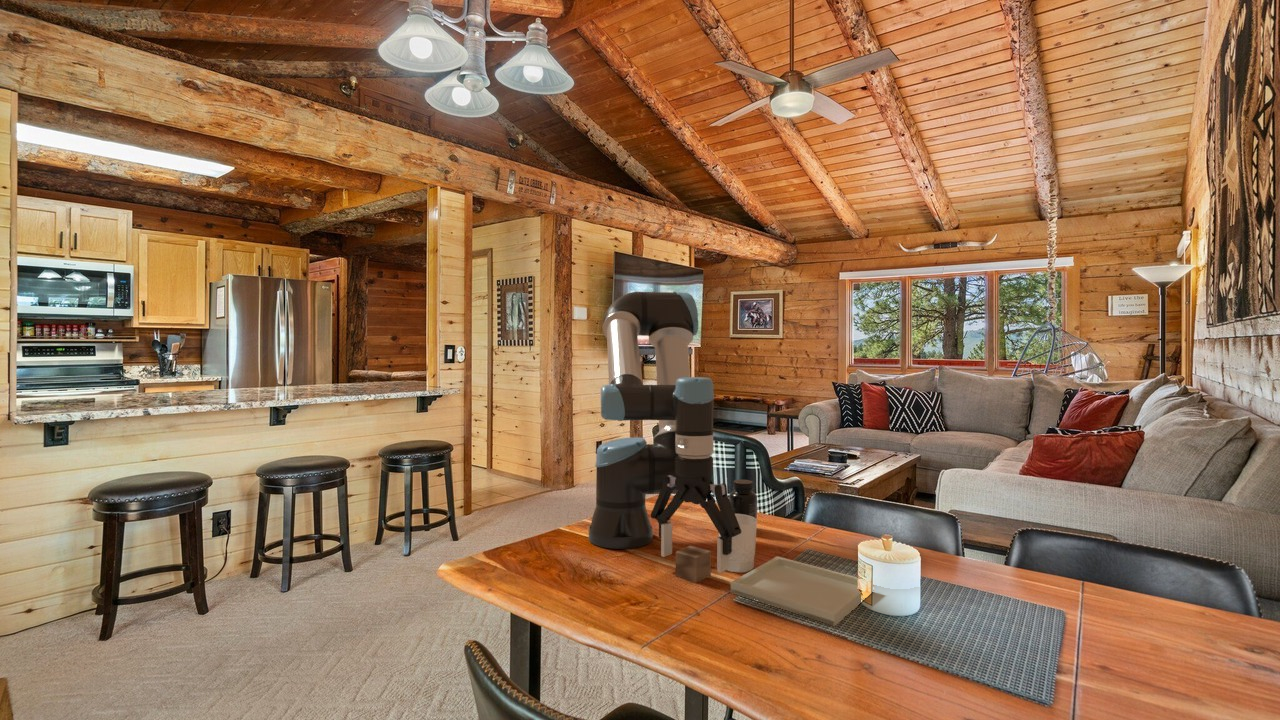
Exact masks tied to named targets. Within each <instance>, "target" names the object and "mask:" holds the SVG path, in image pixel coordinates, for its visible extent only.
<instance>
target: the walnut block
mask: <svg viewBox="0 0 1280 720" xmlns="http://www.w3.org/2000/svg"><path fill="white" fill-rule="evenodd" d="M711 561H712V553H711V550H709V549H708V550H707V549H706V548H705V549H703V548H701V547H697V546H693V545H688V546H685V547H684V548H681V549H679V550H677V551H675V574H674V575H675V577H676V578H680V579H683V580H686V581H689V582H691V583H695V584H698V583H700V582H701V581H704V579H705V580H706V578H709V577H711V575H712V574H711V573H712V572H711V570H712V569H711V568H712V567H711V566H712V563H711Z"/></svg>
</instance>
